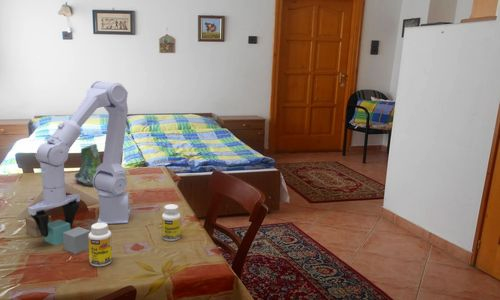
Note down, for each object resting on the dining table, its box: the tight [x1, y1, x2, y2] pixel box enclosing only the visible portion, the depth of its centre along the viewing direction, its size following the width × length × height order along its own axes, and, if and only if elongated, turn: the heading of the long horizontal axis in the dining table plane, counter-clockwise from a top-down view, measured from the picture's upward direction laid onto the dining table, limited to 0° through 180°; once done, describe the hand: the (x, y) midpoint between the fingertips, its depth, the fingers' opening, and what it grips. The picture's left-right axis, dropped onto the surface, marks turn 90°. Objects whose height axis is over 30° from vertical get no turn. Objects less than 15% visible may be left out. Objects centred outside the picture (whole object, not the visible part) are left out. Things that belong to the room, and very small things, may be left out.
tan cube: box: [24, 215, 53, 238], centre depth 125 cm, size 5×5×5 cm
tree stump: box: [74, 144, 102, 188], centre depth 175 cm, size 18×20×18 cm
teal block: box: [43, 219, 71, 246], centre depth 121 cm, size 5×5×5 cm
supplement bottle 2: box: [161, 203, 182, 242], centre depth 124 cm, size 5×5×10 cm
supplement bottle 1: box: [88, 222, 113, 267], centre depth 108 cm, size 6×6×10 cm
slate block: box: [63, 226, 91, 255], centre depth 116 cm, size 5×5×5 cm
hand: (57, 231), depth 121 cm, fingers open, 7 cm apart
